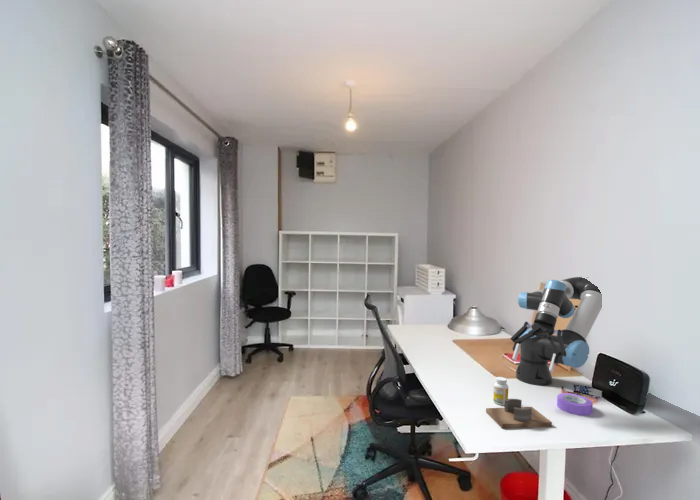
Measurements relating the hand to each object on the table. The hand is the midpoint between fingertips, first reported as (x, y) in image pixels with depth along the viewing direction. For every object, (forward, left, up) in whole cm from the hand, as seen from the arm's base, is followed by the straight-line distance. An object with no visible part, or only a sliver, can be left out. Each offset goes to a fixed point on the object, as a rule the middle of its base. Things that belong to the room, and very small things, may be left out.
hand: (531, 365), depth 144 cm
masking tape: (-11, +11, -16) cm, 23 cm away
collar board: (+15, +2, -16) cm, 22 cm away
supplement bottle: (+7, -9, -16) cm, 20 cm away
